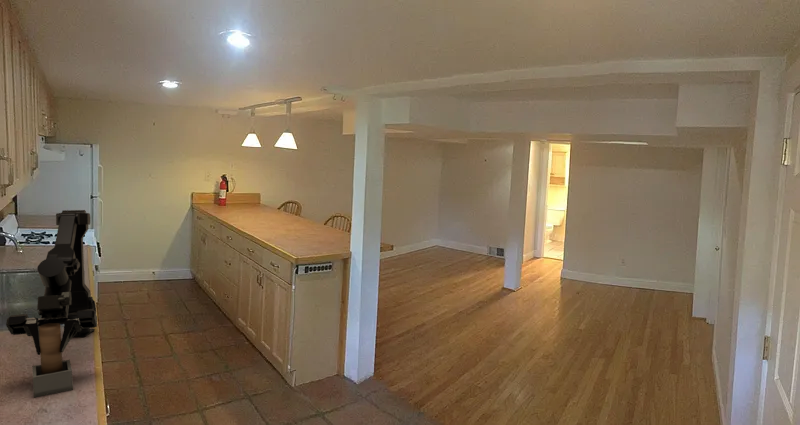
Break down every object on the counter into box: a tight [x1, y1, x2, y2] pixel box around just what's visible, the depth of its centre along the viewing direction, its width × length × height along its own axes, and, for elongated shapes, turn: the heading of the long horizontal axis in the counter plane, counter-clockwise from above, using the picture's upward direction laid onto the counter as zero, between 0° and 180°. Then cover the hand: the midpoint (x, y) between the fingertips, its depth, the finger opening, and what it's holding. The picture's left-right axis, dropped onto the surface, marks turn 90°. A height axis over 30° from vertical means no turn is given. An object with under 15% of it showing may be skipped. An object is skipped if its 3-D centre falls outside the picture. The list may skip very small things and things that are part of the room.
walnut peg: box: [39, 323, 63, 375], centre depth 130 cm, size 4×4×13 cm
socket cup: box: [31, 359, 74, 398], centre depth 130 cm, size 8×8×5 cm
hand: (49, 353), depth 128 cm, fingers closed on walnut peg, 4 cm apart
